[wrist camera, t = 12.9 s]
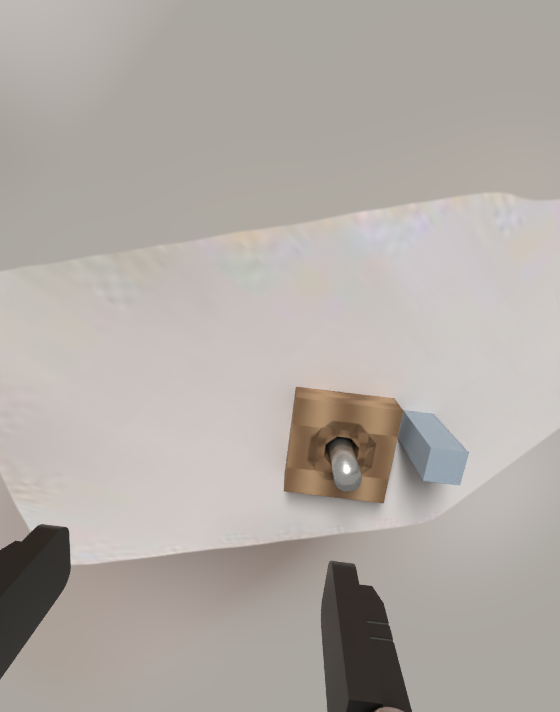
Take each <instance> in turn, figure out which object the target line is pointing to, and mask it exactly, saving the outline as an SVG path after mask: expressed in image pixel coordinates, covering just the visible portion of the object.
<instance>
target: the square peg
mask: <svg viewBox="0 0 560 712" xmlns="http://www.w3.org/2000/svg"><path fill="white" fill-rule="evenodd" d="M398 439H399V441H400V443H401V444H402V446H403V448H404V449H405V451H406V453H407V454H408V456H409V458H410V460H411V461H412V463H413V465H414V466H415V468H416V470H417V471H418V473H419V475H420V477H421V478H422V480H423V481H428V482H436V483H444V484H453V485H460V483H461V480H462V476H463V472H464V469H465V465H466V461H467V458H468V454H469V452H468V451H467V450H466V449H465V448H464V446H463V445H462V444H461V443H460V442H459V441H458V440H457V439H456V438H455V437H454V436H453V434H452V433H451V432H450V431H449V430H448V429H447V428H446V427H445V426H444V425H443V424H442V423H441V421H440V420H439V419H438V418H437V417H436V416H435V415H434V414H429V413H421V412H413V411H404V410H403V415H402V420H401V424H400V429H399V434H398Z"/></svg>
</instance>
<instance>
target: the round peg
mask: <svg viewBox="0 0 560 712" xmlns="http://www.w3.org/2000/svg"><path fill="white" fill-rule="evenodd" d="M328 448H329V453H330V459H331V464H332V470H333V476H334V481H335V484H336V486H337V487H338V488H339V489H340V490H342V491H347V492H349V491H354V490H356V489H357V488H358V487H359V486H360V485H361V483H362V476H361V472H360V469H359V466H358V463H357V460H356V456H355V453H354V450H353V447H352V444H351V440H350V438H346V437H338V436H337V437H335V438H334V439H332V440H331V441H330V442H328Z"/></svg>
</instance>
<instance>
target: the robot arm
mask: <svg viewBox="0 0 560 712" xmlns="http://www.w3.org/2000/svg"><path fill="white" fill-rule="evenodd" d="M70 569H71V564H70V541H69V530H68V528H67V527H60V526H52V525H44V524H41V525H38V526H37V527H36V528H35V529H34V530H33V531H32V532H31V533H30V534H29V535H28V536H27V537H26V538H25V539H24V540H23V541H22V542H20V541H14V542H13V543H11V544H10V545H8V546H6V547H5V548H3V549H1V550H0V679H1V677H2V676H3V675H4V673H5V672H6V671H7V669H8V668H9V666H10V665H11V663H12V662H13V661H14V659H15V658H16V656H17V654H18V653H19V652H20V651H21V649H22V648H23V646H24V645H25V644H26V642H27V641H28V639H29V638H30V636H31V635H32V634H33V632H34V631H35V629H36V628H37V627H38V625H39V624H40V622H41V621H42V620H43V618H44V617H45V615H46V614H47V612H48V611H49V610H50V608H51V607H52V605H53V604H54V603H55V601H56V600H57V598H58V597H59V595H60V594H61V592H62V591H63V589H64V587H65V586H66V583H67V581H68V578H69V575H70ZM388 623H389V622H388V619H387V615H386V611H385V607H384V603H383V602H382V600H381V599H380V597H379V596H378V595H377V593H376V591H375V590H374V588H373V587H372V586H367V585H359V581H358V576H357V571H356V567H355V565H354V564H352V563H343V562H336V561H330V562H329V565H328V570H327V575H326V581H325V587H324V592H323V598H322V606H321V629H322V643H323V656H324V670H325V683H326V696H327V711H328V712H412V710H411V706H410V703H409V699H408V695H407V691H406V687H405V684H404V680H403V676H402V672H401V668H400V664H399V661H398V657H397V653H396V649H395V645H394V643H393V638H392V634H391V630H390V626H389V625H388Z"/></svg>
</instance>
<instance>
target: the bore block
mask: <svg viewBox="0 0 560 712" xmlns="http://www.w3.org/2000/svg"><path fill="white" fill-rule="evenodd" d="M402 415H403V410H402V408H401V407H400V405H399V404H398V403H397V401H396V400H395V399H394V398H385V397H377V396H368V395H360V394H352V393H343V392H335V391H326V390H318V389H310V388H301V387H296V391H295V399H294V406H293V414H292V422H291V429H290V437H289V445H288V452H287V460H286V468H285V478H284V491H287V492H296V493H304V494H312V495H320V496H328V497H337V498H345V499H353V500H361V501H369V502H378V503H384V499H385V494H386V489H387V485H388V480H389V475H390V471H391V466H392V461H393V457H394V452H395V447H396V443H397V438H398V433H399V429H400V424H401V419H402ZM337 436H338V437H346V438H351V439H352V440H353V442H352V447H353V450H354V453H355V456H356V460H357V463H358V466H359V469H360V472H361V476H362V483H361V485H360V486H359V487H358V488H357V489H356V490H354V491H349V492H347V491H342V490H340V489H339V488H338V487H337V486H336V484H335V481H334V476H333V470H332V464H331V459H330V453H329V450H328V449H327V447H326V446H325V445H326V444H327V443H328V442H330V441H331V440H332V439H334V438H335V437H337Z"/></svg>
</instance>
